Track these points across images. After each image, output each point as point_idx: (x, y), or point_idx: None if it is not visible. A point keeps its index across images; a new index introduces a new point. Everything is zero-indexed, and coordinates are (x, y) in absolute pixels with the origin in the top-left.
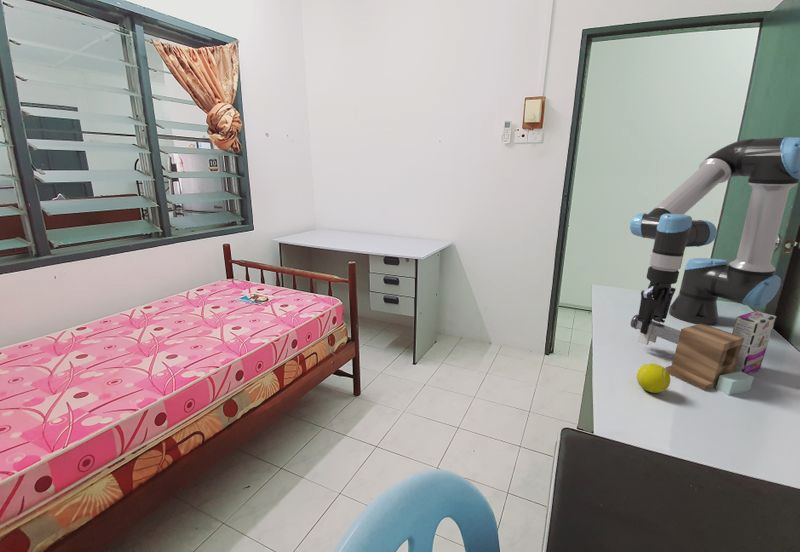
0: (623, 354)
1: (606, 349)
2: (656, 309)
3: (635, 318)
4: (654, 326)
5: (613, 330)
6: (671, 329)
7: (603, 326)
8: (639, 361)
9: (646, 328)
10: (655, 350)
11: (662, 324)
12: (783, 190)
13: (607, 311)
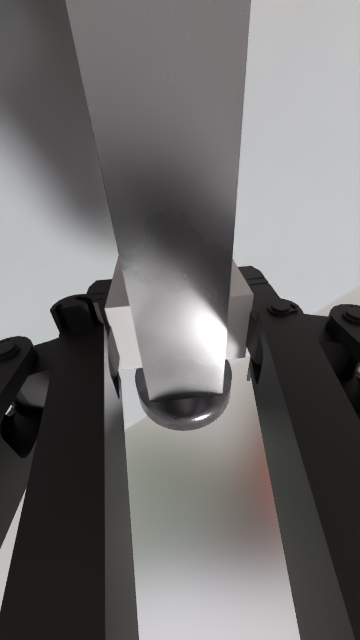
0: (300, 240)
1: (311, 293)
2: (121, 464)
3: (224, 399)
4: (227, 274)
5: (125, 387)
6: (163, 112)
7: (133, 410)
8: (315, 156)
9: (266, 288)
10: (107, 220)
11: (125, 271)
12: None
13: None
